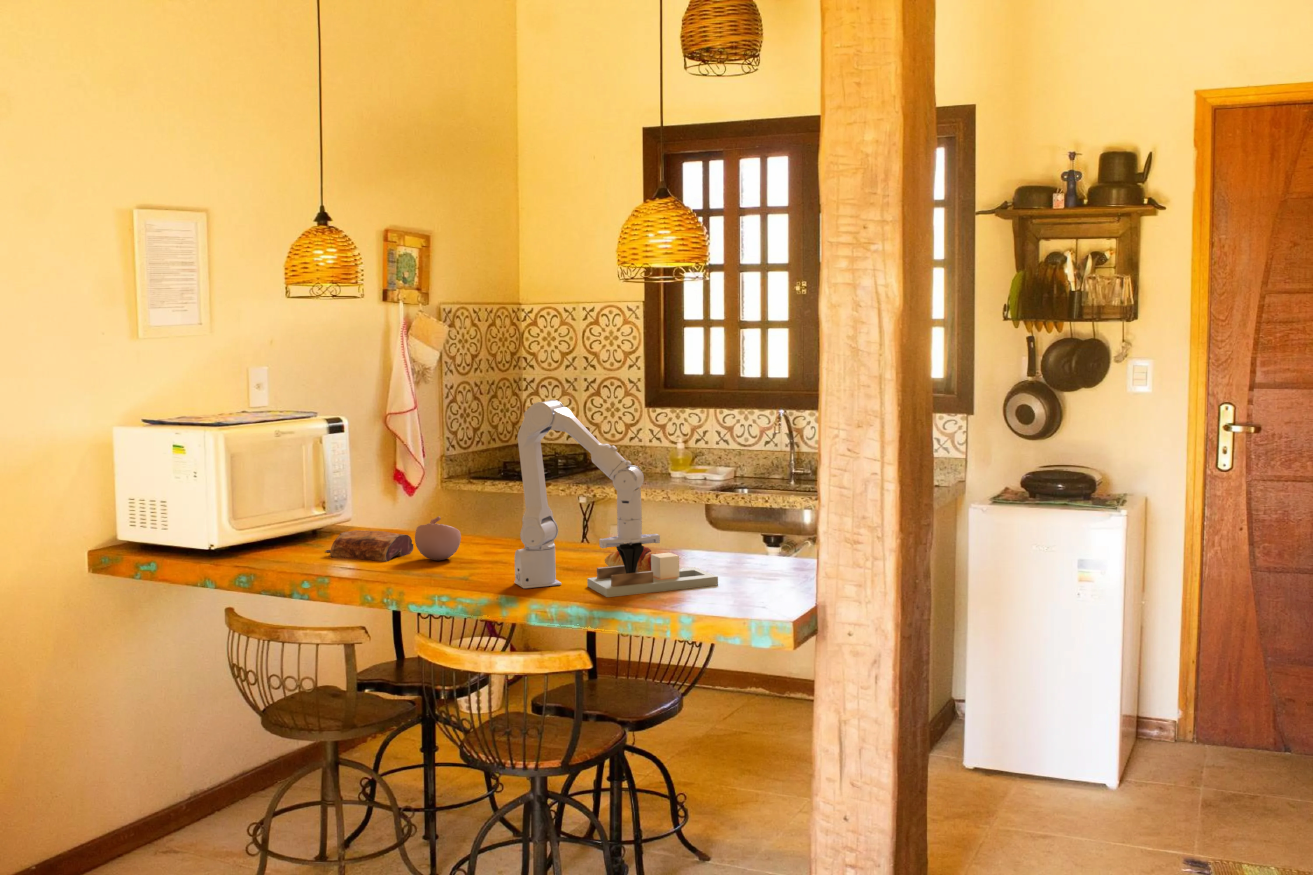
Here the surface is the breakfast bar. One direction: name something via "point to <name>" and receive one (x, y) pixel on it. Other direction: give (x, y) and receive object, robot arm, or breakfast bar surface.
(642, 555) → the croissant
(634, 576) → the parallel rails
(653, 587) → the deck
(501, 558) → the breakfast bar surface
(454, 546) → the pink apple
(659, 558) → the cube
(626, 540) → the robot arm
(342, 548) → the cured meat
